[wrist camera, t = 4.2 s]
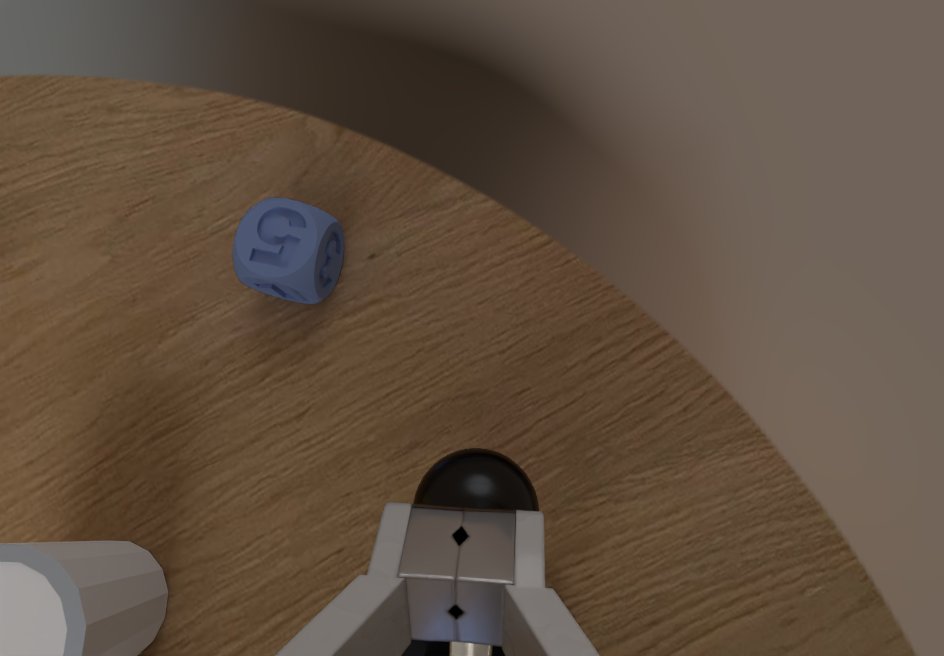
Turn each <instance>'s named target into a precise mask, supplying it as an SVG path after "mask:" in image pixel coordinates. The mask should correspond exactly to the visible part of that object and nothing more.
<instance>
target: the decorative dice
mask: <svg viewBox="0 0 944 656" xmlns="http://www.w3.org/2000/svg"><path fill="white" fill-rule="evenodd" d="M343 256H344V233H343V229H342V227H341V225H340V223H339V222H338V221H337V220H336V219H335V218H334V217H333V216H331V215H330V214H328V213H326V212H325V211H323V210H321V209H318V208H316V207H314V206H311V205H309V204H306V203H303V202H299V201H296V200H291V199H286V198H268V199H265V200H263V201H261V202H259V203H257V204H256V205H254V206H253V207H252V208H250V209H249V210H248V211H247V212H246V213H245V215H244V216H243V218H242V219H241V221H240V223H239V226H238V228H237V231H236V235H235V239H234V245H233V264H234V269H235V272H236V274H237V276H238V278H239V280H240V281H241V282H242V283H243V284H245V285H247V286H248V287H251V288H253V289H255V290H257V291H260V292H263V293H265V294H268V295H271V296H275V297H278V298H282V299H285V300H289V301H294V302H299V303H306V304H316V303H318V302H320V301H322V300H323V299H325V298H326V297H328V296H329V295H330V294H331V292H332V291H333V289H334V287H335V285H336V283H337V280H338V278H339V275H340V271H341V267H342V262H343Z"/></svg>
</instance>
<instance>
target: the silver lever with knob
mask: <svg viewBox="0 0 944 656" xmlns="http://www.w3.org/2000/svg"><path fill="white" fill-rule="evenodd" d="M413 504H424V505H436V506H447V507H458V508H464V507H471V508H491V509H511V510H515V514H516V510H522V511H538V512H539V506H538V500H537V496H536V492H535V489H534V487H533V485H532V483H531V481H530V479H529V478H528V476H527V475H526V473H525V472H524V471H523V470H522V469H521V468H520V467H519V466H518V465H517V464H516V463H515V462H514V461H512V460H511V459H510V458H508V457H506V456H505V455H503V454H501V453H498V452H495V451H492V450H488V449H481V448H470V449H463V450H459V451H456V452H454V453H451V454H449V455H447V456H445V457H443V458H442V459H440V460H439V461H438V462H436V463H435V464H434V465H433V466H432V467H431V468H430V469H429V470H428V472H427V473H426V474H425V475H424V477H423V479H422V480H421V482H420V484H419V486H418V489H417V491H416V494H415V498H414V503H413ZM449 656H492V646H490V645H481V644H471V643H462V642H450V650H449Z"/></svg>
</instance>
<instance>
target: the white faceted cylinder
mask: <svg viewBox="0 0 944 656" xmlns="http://www.w3.org/2000/svg"><path fill="white" fill-rule="evenodd" d="M167 599H168V589H167V585H166V581H165V577H164V573H163V569H162V568H161V566H160V565H159V564H158V563H157V561H156V560H155V559H154V557H153V556H152V555H151V553H150V552H149V551H147V550H145V549H144V548H142V547H140V546H138V545H136V544H134V543H132V542H130V541H108V540H107V541H72V542H36V543H0V656H138V655H139V654H140V653H141V652H142V651H143V650H144V649H145V648H146V647H147V646H148V645H150V644H151V643H152V642H153V641H154V639H155V637H156V635H157V633H158V631H159V629H160V627H161V625H162V623H163V621H164V619H165V616H166V608H167Z"/></svg>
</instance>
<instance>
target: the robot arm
mask: <svg viewBox="0 0 944 656" xmlns="http://www.w3.org/2000/svg"><path fill="white" fill-rule="evenodd" d="M411 640H427V641H447V642H462V643H471V644H481V645H490V646H500V647H502V650H503V652H504V654H505V656H600V655H599V654H598V652H597V651H596V649H595V648H594V646H593V645H592V644H591V642H590V641H589V639H588V638H587V636H586V635H585V634H584V632H583V631H582V629H581V628H580V626H579V625H578V624H577V622H576V621H575V619H574V618H573V616H572V615H571V613H570V612H569V611H568V609H567V608H566V606H565V605H564V603H563V602H562V601H561V599H560V598H559V596H558V595H557V593H556V592H555V590H554V589H552V588H545V550H544V515H543V513H542V512H538V511H522V510H516V514H515V510H511V509H491V508H471V507H464V508H458V507H447V506H436V505H424V504H410V503H398V502H387V503H386V505H385V507H384V509H383V513H382V516H381V520H380V524H379V528H378V532H377V536H376V540H375V544H374V548H373V552H372V556H371V560H370V564H369V567H368V571H367V575H358V576H357V577H356V578H355V579H354V580H353V581H352V582H351V583H350V584H349V585H348V586H347V587H346V588H345V589H344V590H342V591H341V592H340V593H339V594H338V595H337V596H336V597H335V598H334V599H333V600H332V601H331V602H330V603H329V604H328V605H327V606H326V607H325V608H324V609H323V610H322V611H321V612H320V613H319V614H317V615H316V616H315V617H314V618H313V619H312V620H311V621H310V622H309V623H308V624H307V625H306V626H305V627H304V628H303V629H302V630H301V631H300V632H299V633H298V634H297V635H296V636H295V637H293V638H292V639H291V640H290V641H289V642H288V643H287V644H286V645H285V646H284V647H283V648H282V649H281V650H280V651H279V652H278V653H277V654H276V655H275V656H401V655H402V654H403V653H404V651H405V650H406V649H407V647H408V646H409V645H410V644H411Z"/></svg>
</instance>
